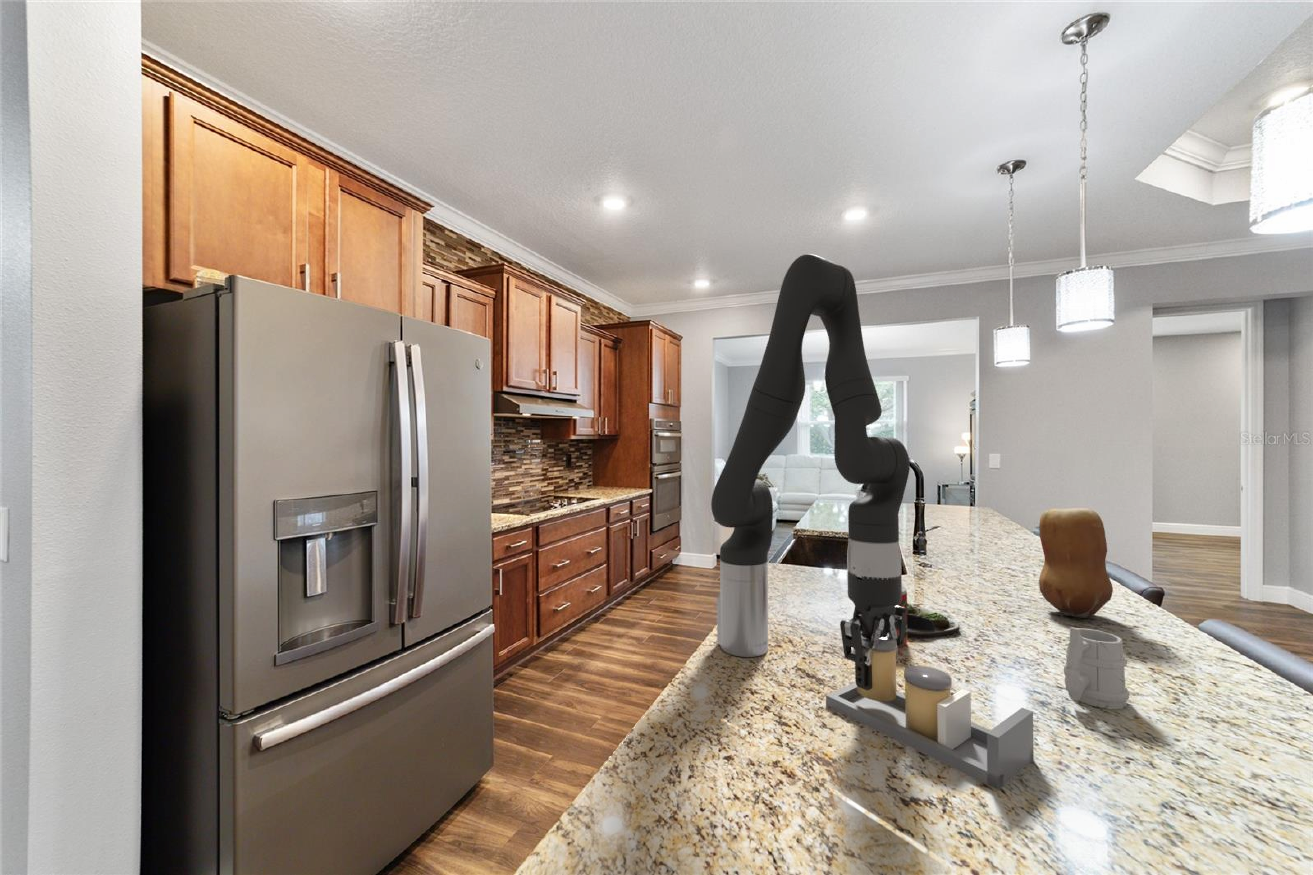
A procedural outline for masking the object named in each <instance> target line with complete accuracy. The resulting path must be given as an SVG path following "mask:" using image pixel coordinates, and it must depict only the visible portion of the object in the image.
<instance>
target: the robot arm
mask: <svg viewBox="0 0 1313 875" xmlns="http://www.w3.org/2000/svg"><path fill="white" fill-rule="evenodd" d="M857 293H858V292H857V287H856V283H855V279H854V276H853V274H852V272H851V270H850V269H848V267H846V266H844V265H843V264H841V263H838V262H835V261H832V260H829V259H827V258H825V257H822V256H819V255H816V254H812V253H806V254H802V255H800V256H799V257H797V258H796V259H795V260H793V262H792V263H791V264H790V265H789V267H788V269H787V270H786V273H785V275H784V278H783V280H782V284H781V287H780V290H779V294H778V298H777V303H776V307H775V312H774V316H773V321H772V324H771V329H770V333H769V337H768V339H767V340H768V341H767V344H766V348H765V350H764V353H763V356H762V360H761V363H760V367H759V369H758V372H757V375H756V377H755V381H754V383H753V386H752V389H751V392H750V394H749V396H748V400H747V403H746V408H745V410H744V413H743V414H744V415H743V418H742V420H741V423H740V426H739V428H738V431H737V433H736V437H735V439H734V443H733V445H732V448H731V451H730V453H729V455H728V457H727V460H726V462H725V464H724V466H723V469H722V470H721V473H720V475H719V477H718V479H717V482H716V484H715V486H714V488H713V491H712V496H711V501H710V502H711V503H710V504H711V514H712V516H713V519H714V520H715V521H716V523H717V524H719V525H720V526H721V527H723V528H724V527H725V528H733V531H732V533H731V535H730V536H729V538H728V539H727V540H725V541H724V542H723V543H722V545H721V546H720V549H719V564H720V566H719V568H720V569H719V570H720V572H719V573H720V576H719V577H720V578H719V579H720V580H719V581H720V582H719V583H720V588H719V590H720V594H719V595H718V596H717V598H716V611H717V612H716V615H717V616H716V624H717V625H716V631H717V633H716V635H717V636H716V637H717V638H716V639H717V640H716V641H717V642H716V643H717V645H720V648H721V650H722V651H724V652H725V653H727V654H728V655H732V656H736V657H743V658H753V657H759V656H763V655H765V654H766V653H767V652H769V581H768V580H769V578H768V572H769V571H768V569H769V568H768V554H769V551H770V548H771V546H772V540H773V520H774V518H773V516H774V515H773V514H774V508H773V507H774V505H773V504H774V503H773V497H772V494H771V490H770V488H769V487H768V485H767V484H766V483H765V481H763V480H761V479H758V476H759V473H760V472H761V470H762V467H763V465H764V464H765V462H767V460H768V458H769V457H770V456H771V455H772V454H773V452H774V451H775V450H776V449H777V448H778V447H779V445H780V444H781V443H782V442H783V441H784V439H785V438H786V436H787V435H788V434H789V433H790V431H791V429H792V428H793V426H794V424H795V423H796V419H797V416H798V414H799V412H800V408H801V405H802V403H803V400H804V396H805V393H806V373H805V367H804V361H803V360H804V359H803V342H804V336H805V333H806V330H807V327H808V323H809V321H810V318H811V315H812V316H816V317H819V318H820V320H821V321H822V323H823V326H824V328H825V331H826V333H827V338H828V354H827V359H826V362H825V367H824V368H825V369H824V381H825V387H826V393H827V396H828V399H829V403H830V407H831V410H832V414H833V416H834V429H833V430H834V432H833V433H834V444H833V446H834V449H833V450H834V455H833V456H834V463H835V466H836V469H837V471H838V473H839V474H840V475H841V477H842V478H843V479H844V480H845V481H846V482H848V483H851V484H852V485H853V484H854V485H863V484H864V485H865V484H867V485H868V489H867V491H866V494H865V495H864V496H862V497H861V498H858V499H856V500H853V501H852V502H851V503H850V504H849V506H848V513H847V514H848V515H847V517H848V518H847V521H848V524H847V525H848V530H847V531H848V542H847V544H848V545H847V552H846V556H847V557H846V561H847V562H846V564H847V565H846V568H847V570H846V572H847V573H846V574H847V578H846V579H847V597H848V599H849V600H850V601H852V603H853V605H854V609H853V614H852V618H851V619H849V620H846V619H841V621H840V623H839V626H840V633H841V641H842V647H843V648H842V649H843V655H844V656H843V657H844V659H845V660H847V661H851V662H854V673H855V674H854V676H855V677H854V678H855V681H854V682H856V685H857V686H858V687H860V688H862V689H864V690H867V691H868V690H870V689H872V665H871V661H872V656H873V651H872V650H875V649H876V647H877V645H878V643H879V639H880V638H881V637H883V638H884V637H888V638H891V639H896V641H897V648H896V654H898V651H899V648H898V646H900V648H903V647H904V646H903V645H904V638H905V625H906V613H907V609H906V608H905V607H902V606H898V605H899V604H900V603H901V602H902V586H903V584H902V578H903V577H902V554H901V548H900V547H901V546H900V535H899V534H900V531H899V529H900V528H899V527H900V526H899V525H900V524H899V519H900V518H899V513H900V509H901V505H902V502H903V499H904V495H905V491H906V487H907V483H908V479H909V475H910V465H911V464H910V463H911V462H910V457H909V453H908V451H907V449H906V447H905V445H904V444H903V443H902V442H901V441H900V440H898V439H897V438H896V437H891V436H868V432H867V427H868V426H869V425H872V424H874V423H875V422H877V421H878V420H879V419H880V418H881V416H882V414H883V413H882V411H883V410H882V406H881V401H880V398H879V396H878V392H877V388H876V385H875V382H874V379H873V376H872V374H871V371H870V367H869V364H868V363H869V362H868V360H867V356H866V351H865V346H864V338H863V332H862V325H861V318H860V317H861V316H860V310H859V309H860V308H859V302H858V294H857ZM896 629H897V630H898V637H897V633H896ZM861 635H862V636H863V637H864V638H867V639H870V640H871V641H870V642H866V641H863V640H862V639H861ZM863 646H865V647H866V652H865V655H864V654H863ZM902 646H903V647H902ZM852 648H853V649H852Z"/></svg>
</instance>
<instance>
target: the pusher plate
mask: <svg viewBox="0 0 1313 875" xmlns="http://www.w3.org/2000/svg"><path fill="white" fill-rule="evenodd" d="M971 693H972V692H971V691H970V690H966V689H963V688H962V689H960V690H958V691H957V692H955V693H954V694H952V695H950V697H948V698H946V699H945V700H943V701H941V702H939V703H938V704H937V714H938V743H940V744H942V745H944V746H946V747H948V748H950V749H952V750H953V749H954V748H956V747H957V746H958V745H960V744H961V743H963V742H964V741H966V740H967V739H968V738H970V737H971V722H972V708H971V707H972V706H971V705H972V699H971V698H972V697H971V696H972V695H971Z"/></svg>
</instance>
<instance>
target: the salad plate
mask: <svg viewBox="0 0 1313 875" xmlns="http://www.w3.org/2000/svg"><path fill="white" fill-rule="evenodd" d="M960 629H961V628H960V623H959V622H958V621H957V620H954V619H951V618H949V617H947V616H945V615H943V614H942V613H939V612H936V611H935V612H934V611H932V610H929V609H927V608H925V607H921V606H913V605H912V604H909V603H907V638H911V639H935V638H936V639H937V638H943V637H950V636H954V635H955V634H957V633H958V632H959V631H960Z"/></svg>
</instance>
